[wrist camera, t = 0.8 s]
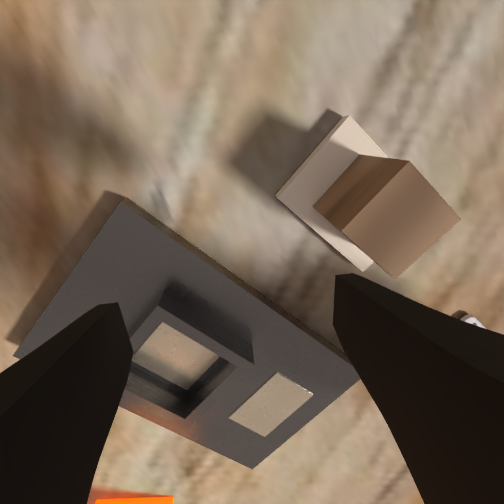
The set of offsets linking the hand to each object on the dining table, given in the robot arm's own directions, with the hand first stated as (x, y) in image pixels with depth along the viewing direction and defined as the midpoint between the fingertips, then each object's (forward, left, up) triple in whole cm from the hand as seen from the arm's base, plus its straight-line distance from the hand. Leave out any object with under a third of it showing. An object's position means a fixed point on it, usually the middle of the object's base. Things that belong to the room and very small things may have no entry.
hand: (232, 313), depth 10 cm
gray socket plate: (-5, +10, -10) cm, 15 cm away
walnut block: (-5, -6, -9) cm, 12 cm away
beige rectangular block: (-5, -6, -10) cm, 13 cm away
